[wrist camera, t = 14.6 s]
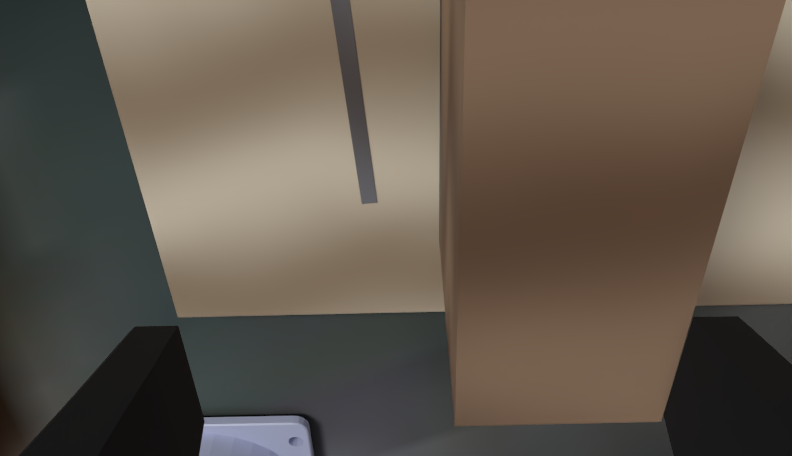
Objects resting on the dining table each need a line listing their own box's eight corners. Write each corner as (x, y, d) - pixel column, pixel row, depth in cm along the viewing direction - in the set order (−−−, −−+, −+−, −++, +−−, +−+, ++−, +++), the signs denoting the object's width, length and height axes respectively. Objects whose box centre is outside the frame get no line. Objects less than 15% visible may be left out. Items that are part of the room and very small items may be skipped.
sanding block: (591, 236, 18) (661, 421, 14) (439, 240, 18) (454, 425, 14) (654, -148, 13) (806, -70, 8) (440, -141, 13) (467, -57, 8)
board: (818, 268, 21) (844, 303, 20) (190, 282, 21) (177, 317, 20) (1068, -323, 13) (1139, -328, 12) (39, -285, 13) (1, -285, 12)
